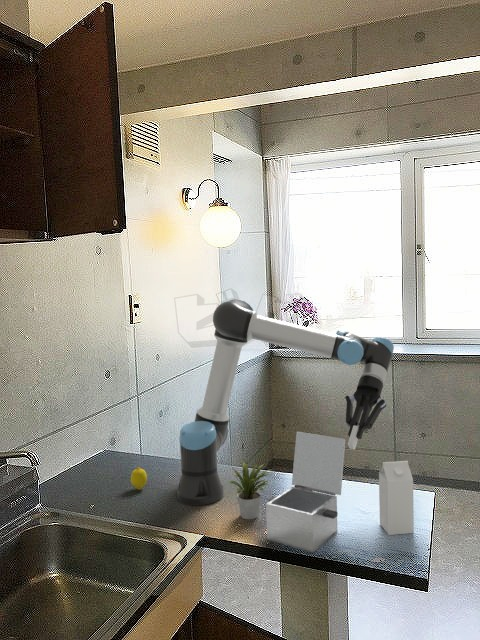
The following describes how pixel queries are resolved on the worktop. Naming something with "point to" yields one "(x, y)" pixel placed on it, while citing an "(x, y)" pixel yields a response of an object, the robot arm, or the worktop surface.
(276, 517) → the white hinged box
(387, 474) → the milk carton
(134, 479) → the fruit
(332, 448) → the lid
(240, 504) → the house plant
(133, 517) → the worktop surface
